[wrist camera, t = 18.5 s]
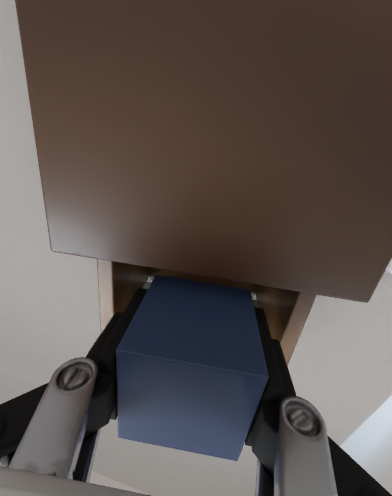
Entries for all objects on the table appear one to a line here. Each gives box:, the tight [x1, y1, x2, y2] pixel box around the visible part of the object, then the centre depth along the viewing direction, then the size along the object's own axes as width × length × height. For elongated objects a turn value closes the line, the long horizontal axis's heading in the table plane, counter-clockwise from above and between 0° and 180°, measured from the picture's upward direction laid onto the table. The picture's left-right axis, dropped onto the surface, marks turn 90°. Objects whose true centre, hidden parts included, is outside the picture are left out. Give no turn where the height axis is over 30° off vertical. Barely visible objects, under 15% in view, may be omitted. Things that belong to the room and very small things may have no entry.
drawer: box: [88, 259, 317, 366], centre depth 15 cm, size 19×11×8 cm, turn 173°
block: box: [116, 275, 269, 461], centre depth 9 cm, size 4×4×4 cm
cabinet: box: [15, 0, 392, 303], centre depth 10 cm, size 15×13×10 cm
